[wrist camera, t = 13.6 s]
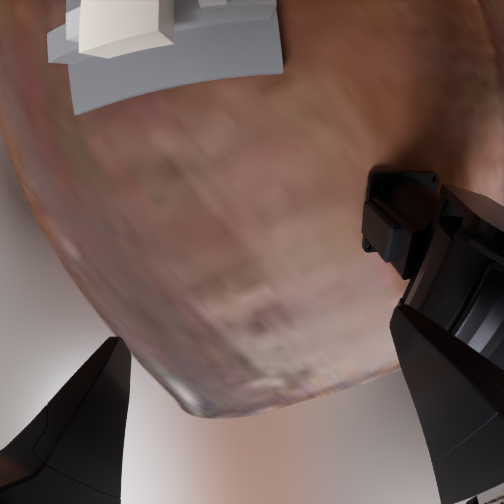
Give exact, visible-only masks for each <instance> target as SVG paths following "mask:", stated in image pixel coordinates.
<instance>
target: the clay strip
mask: <svg viewBox="0 0 504 504" xmlns="http://www.w3.org/2000/svg"><path fill="white" fill-rule="evenodd" d="M172 44H174V0H81V7H80V21H79V53H81V54H87V55H93V56H98V57H103V58H107V59H109V58H112V57H116V56H119V55H123V54H127V53H131V52H136V51H140V50H145V49H150V48H155V47H160V46H166V45H172Z"/></svg>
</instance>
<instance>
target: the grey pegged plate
mask: <svg viewBox="0 0 504 504" xmlns="http://www.w3.org/2000/svg"><path fill="white" fill-rule="evenodd" d="M276 5H277V2H276V0H174V44H172V45H166V46H160V47H155V48H150V49H145V50H140V51H136V52H131V53H127V54H123V55H119V56H116V57H112V58H109V59H107V58H103V57H98V56H93V55H87V54H81V53H79V21H80V7H81V0H66V24H64V25H62V26H60V27H58V28H56V29H54V30H53V31H51V32H49V33H47V42H48V62H49V63H63V64H68V69H69V78H70V87H71V94H72V101H73V107H74V113H75V115H79V114H83V113H86V112H89V111H91V110H94V109H97V108H100V107H103V106H106V105H109V104H112V103H115V102H118V101H122V100H125V99H128V98H132V97H136V96H139V95H143V94H147V93H151V92H155V91H159V90H164V89H168V88H173V87H178V86H183V85H188V84H193V83H199V82H206V81H212V80H219V79H227V78H236V77H246V76H258V75H275V74H282V73H284V71H283V61H282V51H281V42H280V34H279V26H278V18H277V10H276Z"/></svg>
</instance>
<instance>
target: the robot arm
mask: <svg viewBox="0 0 504 504" xmlns="http://www.w3.org/2000/svg"><path fill="white" fill-rule="evenodd" d="M376 176H377V180H376V181H374V182H373V179H374V177H376ZM432 177H433V180H432ZM437 186H438V175H437V174H436V173H434V172H429V171H377V172H371V173H370V174H369V176H368V184H367V199H366V201H365V202H364V211H363V222H362V233H363V241H362V248H363V249H364V251H365V252H367V253H370V252H378V254H379V255H380V256H381V258H382V259H383V260H384V261H385V262H386V263H387V262H390V263H391V264H392V265H393V267H394V268H395V269H396V271H397V272H398V273H399V275H400V276H401V277H402V279H403V280H407V279H410V282H409V284H408V286H407V288H406V291H405V293H404V295H403V297H402V298H400V300H399V302H398V304H397V306H396V307H395V309H394V312H393V315H392V318H391V321H390V331H391V335H392V338H393V341H394V345H395V348H396V352H397V356H398V359H399V363H400V366H401V369H402V372H403V375H404V377H405V380H406V382H407V385H408V388H409V390H410V393H411V396H412V399H413V402H414V405H415V408H416V411H417V414H418V417H419V420H420V423H421V426H422V429H423V433H424V436H425V439H426V443H427V446H428V449H429V453H430V457H431V461H432V465H433V469H434V473H435V477H436V482H437V486H438V491H439V495H440V500H441V504H454V503H457V502H460V501H463V500H466V499H468V498H471V497H473V496H475V497H473V498H472V499H470V500H469V501H467V503H466V504H504V207H503V206H502V205H500V204H499V203H497V202H495V201H493V200H492V199H490V198H488V197H486V196H484V195H481V194H478V193H474V192H471V191H468V190H464V189H461V188H457V187H453V186H450V185H446V184H442V187H441V190H440V193H441V195H440V194H438V193H437ZM368 245H370V246H369V247H367V246H368ZM130 373H131V353H130V351H129V349H128V347H127V346H126V344H125V342H124V341H123V339H122V338H121V337H109V338H108V339H107V340H106V341H105V342H104V343H103V344H102V345H101V346H100V347H99V348H98V349H97V350H96V351H95V352H94V353H93V355H91V357H90V358H89V359H88V360H87V361H86V362H85V363H84V364H83V365H82V366H81V367H80V368H79V369H78V370H77V372H76V373H75V374H74V375H73V376H72V377H71V378H70V379H69V380H68V381H67V383H65V385H64V386H63V387H62V388H61V389H60V390H59V391H58V392H57V394H56V395H55V396H54V397H53V398H52V399H51V400H50V401H49V402H48V404H47V405H46V406H45V407H44V408H43V409H42V410H41V412H40V413H39V414H38V415H37V416H36V417H35V418H34V419H33V420H32V421H31V423H30V424H28V426H26V427H25V428H24V429H23V430H22V431H21V432H20V433H19V434H18V435H17V436H16V437H15V438H14V439H13V440H12V441H11V442H10V443H9V444H8V445H7V446H6V447H5V448H3V449H2V450H0V504H121V499H120V497H121V474H122V460H123V459H122V458H123V448H124V437H125V428H126V419H127V412H128V404H129V394H130Z"/></svg>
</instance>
